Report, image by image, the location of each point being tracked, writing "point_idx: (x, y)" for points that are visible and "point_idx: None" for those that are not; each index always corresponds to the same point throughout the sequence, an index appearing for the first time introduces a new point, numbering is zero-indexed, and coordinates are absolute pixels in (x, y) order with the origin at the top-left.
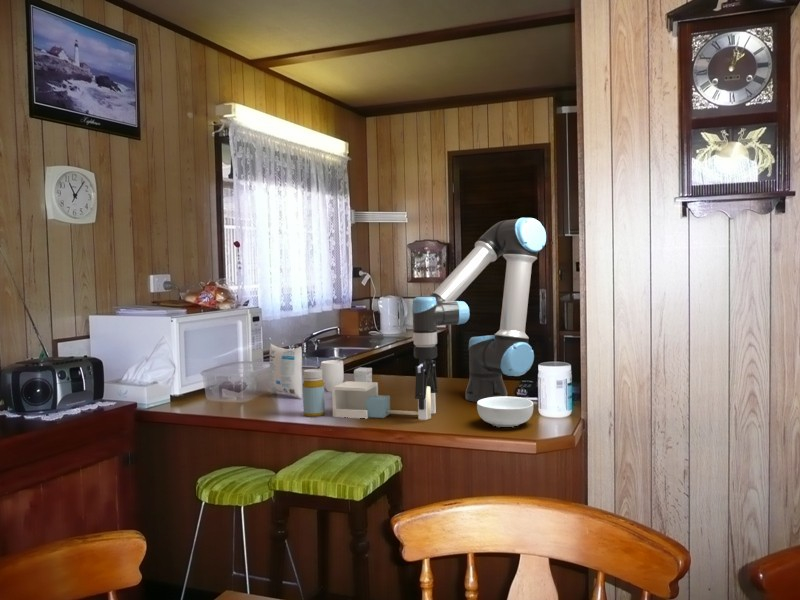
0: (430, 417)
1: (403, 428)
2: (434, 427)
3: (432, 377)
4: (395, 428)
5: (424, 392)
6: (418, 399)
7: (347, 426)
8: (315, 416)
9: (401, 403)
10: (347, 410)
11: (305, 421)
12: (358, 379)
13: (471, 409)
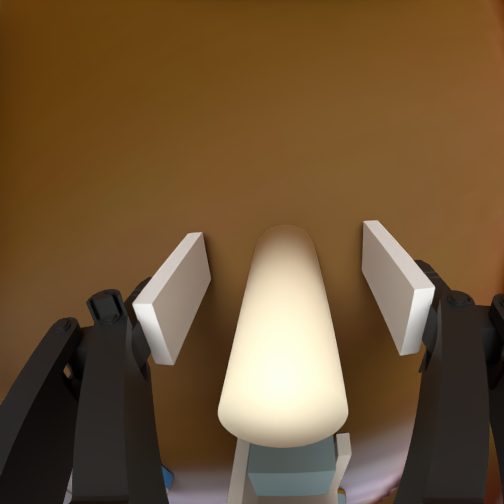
0: (288, 226)
1: (485, 276)
2: (460, 138)
3: (113, 471)
4: (482, 304)
5: (479, 335)
6: (418, 344)
7: None
8: (339, 488)
9: None
10: (342, 477)
11: (383, 481)
12: None
13: (25, 118)
